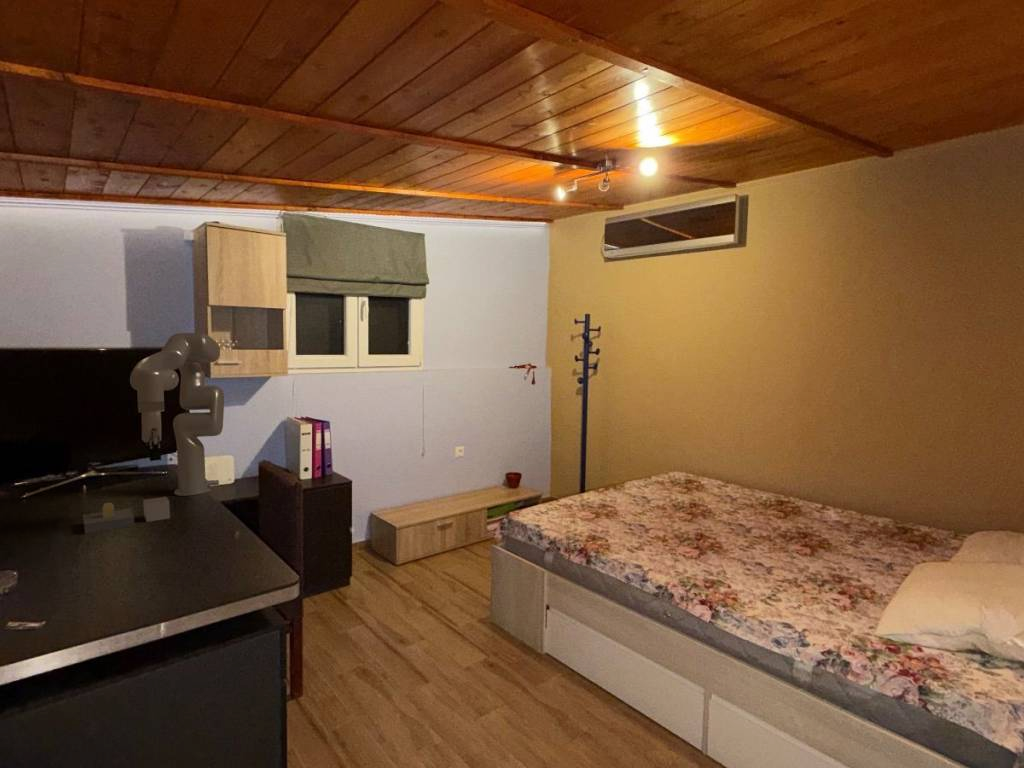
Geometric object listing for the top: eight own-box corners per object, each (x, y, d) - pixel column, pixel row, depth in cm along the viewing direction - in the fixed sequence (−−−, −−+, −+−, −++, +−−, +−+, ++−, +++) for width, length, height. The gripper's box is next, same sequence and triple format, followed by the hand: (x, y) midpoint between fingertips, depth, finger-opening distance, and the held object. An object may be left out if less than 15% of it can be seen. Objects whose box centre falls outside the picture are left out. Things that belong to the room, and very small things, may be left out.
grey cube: (167, 513, 209) (166, 496, 208) (170, 518, 203) (169, 500, 203) (144, 517, 205) (143, 499, 204) (146, 521, 199) (145, 503, 199)
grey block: (130, 517, 205) (129, 496, 205) (134, 526, 195) (133, 504, 194) (83, 524, 197) (82, 502, 197) (85, 533, 187) (83, 511, 186)
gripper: (135, 406, 206) (138, 455, 207) (140, 410, 192) (143, 463, 193) (160, 404, 211) (163, 453, 212) (167, 408, 197) (170, 460, 198)
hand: (153, 458), depth 203 cm, fingers open, 9 cm apart
